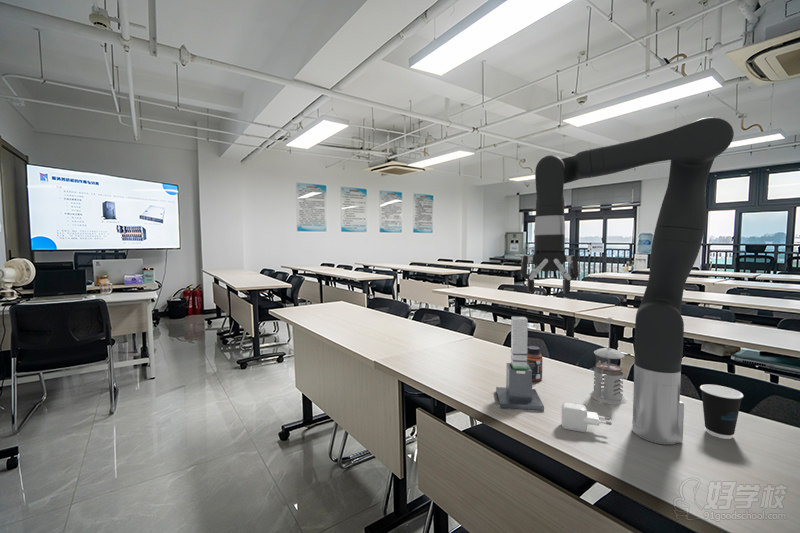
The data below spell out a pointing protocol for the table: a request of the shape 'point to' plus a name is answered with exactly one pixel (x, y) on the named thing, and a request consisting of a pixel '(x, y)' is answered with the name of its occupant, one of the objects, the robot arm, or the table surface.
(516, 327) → the column
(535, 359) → the supplement bottle
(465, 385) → the table surface
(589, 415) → the power adapter
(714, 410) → the dixie cup
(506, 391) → the stand housing
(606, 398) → the french press
